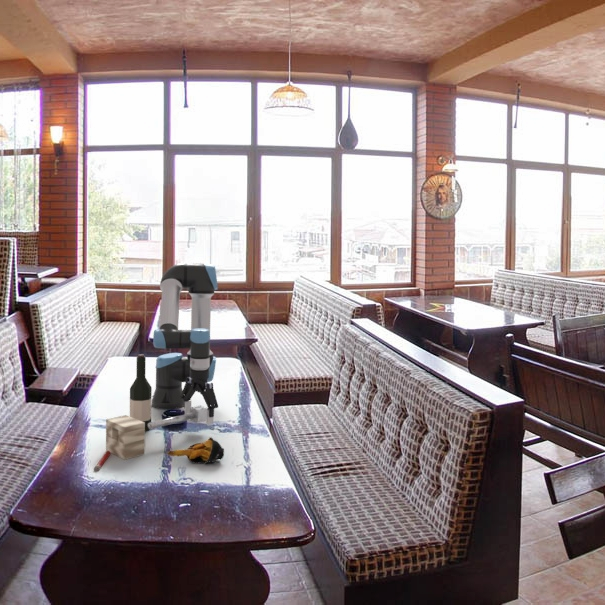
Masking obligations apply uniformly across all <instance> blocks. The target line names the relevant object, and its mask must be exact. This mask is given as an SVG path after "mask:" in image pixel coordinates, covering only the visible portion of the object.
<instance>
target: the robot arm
mask: <svg viewBox="0 0 605 605" xmlns="http://www.w3.org/2000/svg"><path fill="white" fill-rule="evenodd" d="M159 288H160V289H159V290H160V291H161V302H160V303H161V304H160V315H159V316H160V317H159V326H158V327H159V328H158V329H155V330H154V331H153V336H152V337H153V338H152V340H153V347H154V348H155V349H162V350H163V349H164V350H165V349H181V350H182V349H183V350H185V349H186V350H187V349H189V350H188V351H187V353H186V355H187V356H183V353H181V352H170V353H165V354H161V355H159V356H157V357H156V363H155V390H154V393H153V396H152V397H151V407H153V408H157V409H162V410H171V409H179V408H184V414H188V413H190V408H191V407H192V397H193V396H194V394H195V393H196V392H197V393H200V395H202V398H203V400H204V402H205V404H206V406H207V407H206V408H208V409H207V420H206V421H205V422H206V426H207V427H208V426H209V427H210V426H213V425H214V416H215V409H218V408H219V404H218V401H217V398H216V394H215V390H214V383H213V382H212V381H213V380H214V377H215V371H216V362H217V357H216V356H214V352H213V351H212V350H211V346H210V345H211V309H212V308H211V304H212V297H213V296H214V295H215V291H216V290H217V291H218V289H219V288H218V278H217V270H216V266H215V265H214V264H212V263H211V264H210V263H194V262H193V263H192V262H190V263H184V262H180V263H179V262H178V263H176V264H174V265H172V266H170V267H169V268H168V269H167V270H166V271H165V272H164V274H163V275H162V277H161V281H160V286H159ZM183 290H187V292H188V294H189V295H190V297H191V309H190V310H191V312H190V313H191V314H190V317H191V318H190V319H191V322H190V323H191V324H190V326H191V327H190V329H179V320H180V319H179V315H180V300H181V299H180V296H181V295H180V294H181V292H182V291H183ZM183 383H185V384H184V386H183Z"/></svg>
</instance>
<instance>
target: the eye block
mask: <svg viewBox="0 0 605 605" xmlns="http://www.w3.org/2000/svg"><path fill="white" fill-rule="evenodd" d="M145 433H146V431H145V422H142V421H139V420H137V419H134V418H132V417H130V415H126V414H125V415H120V416H117V417H112V418H111V417H110V418H106V419H105V451H106V452H107V451H110V454H111V455H112V454H113V455H114V456H116V457H118V458H120V459H122V460H124V461H125V460H129V459H131V458H135V457H139V456H143V455H145V452H146V450H145V447H146V446H145V445H146V444H145V443H146V442H145V438H146V435H145Z"/></svg>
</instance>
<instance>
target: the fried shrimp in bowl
mask: <svg viewBox="0 0 605 605" xmlns="http://www.w3.org/2000/svg"><path fill="white" fill-rule="evenodd" d="M166 455H167V456H171V457H183V456H185V457H187V460H189V462H191V463H192V464H201V463H203V464H208V463H215V462H216V461H218V460H219V461H221V460H222V459H223V458H224V456H225V449H224V448H223V447H222V445H221V444H220V443H219V442H218V441H217V440H215V439H214V438H212V437H209V438H208V439H207V440H205V441H204V442H199V443H198V442H197V443H193V444H192V445H190V446H188V448H187V449H186V448H185V449H174V450H169V451H167V453H166Z"/></svg>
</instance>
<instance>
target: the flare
mask: <svg viewBox="0 0 605 605" xmlns="http://www.w3.org/2000/svg"><path fill="white" fill-rule="evenodd" d="M110 455H111V453H110V451H106V452H105V453H104V454H103V455H102V457H101V458H100V460H99V461H98V463H97V464H95V466H94V467H93V471H95V472H100V469H101V468H102V466H103V465H104V464H105V462H106V461H107V459H108V458H109V457H110Z"/></svg>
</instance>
